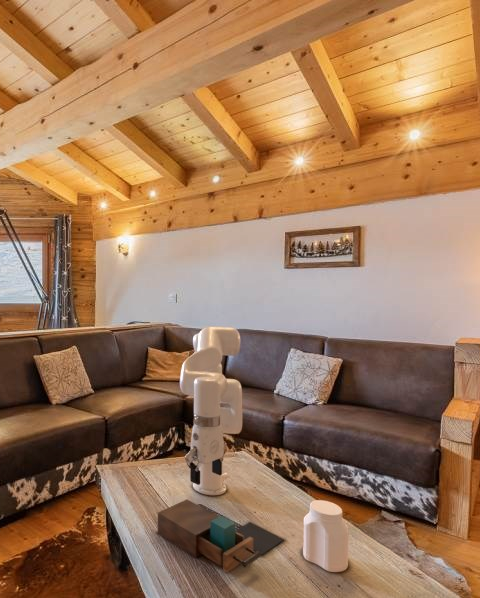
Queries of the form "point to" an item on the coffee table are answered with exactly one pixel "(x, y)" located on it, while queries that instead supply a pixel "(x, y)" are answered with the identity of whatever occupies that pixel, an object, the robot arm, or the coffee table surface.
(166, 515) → the cabinet
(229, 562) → the drawer
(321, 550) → the jar
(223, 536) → the box
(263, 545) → the mat
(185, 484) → the coffee table surface
